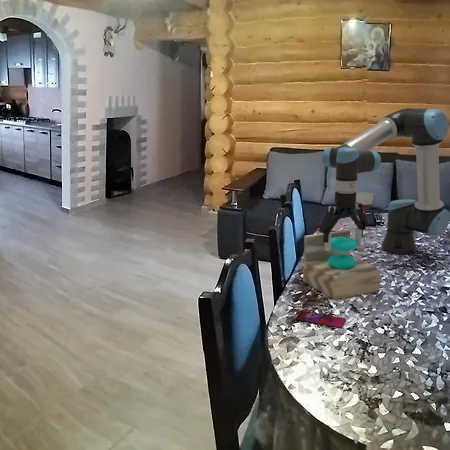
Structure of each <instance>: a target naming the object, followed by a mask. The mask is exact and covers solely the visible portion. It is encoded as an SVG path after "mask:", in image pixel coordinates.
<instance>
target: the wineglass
mask: <svg viewBox="0 0 450 450" xmlns="http://www.w3.org/2000/svg"><path fill="white" fill-rule="evenodd" d="M373 201H374V193H372V192H365V191H364V192H363V191H361V192H360V191H359V192H356V202H358V203H361V204H362V209H363V212H364V213H365V211H367V210H369V209H370V208H371V207H372V204H373ZM356 202H355V203H356ZM365 230H366V229H365ZM365 230H363V233H367V234H369V233H368V230H366V231H365Z"/></svg>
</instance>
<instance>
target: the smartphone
mask: <svg viewBox="0 0 450 450" xmlns="http://www.w3.org/2000/svg"><path fill="white" fill-rule="evenodd" d="M294 320H295V321H296V322H299V321H301V322H300V323H305V322H309V323H308V324H310V323H313V324H312V325H316V324H320V325H319V326H322V325H326V326H325V327H327V326H330V327H329V328H333V327H337V328H336V329H339V328H341V329H343V328H344V326H343V325H345V323H346V322H347V319H346V318H345V317H340V316H337V315H335V316H334V315H330V314H324V313H319V312H315V311H314V312H312V311H308V310H300V311H299V313H298V314H297V316H296V317H295V318H294ZM342 327H343V328H342Z"/></svg>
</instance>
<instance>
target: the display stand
mask: <svg viewBox="0 0 450 450" xmlns="http://www.w3.org/2000/svg"><path fill="white" fill-rule="evenodd" d="M329 234H331V239H332V238H334V237H349V238H351V230H349V229H345V230H340V231H339V230H337V231H331V232H330V233H329ZM303 241H304V244H303V268H302V269H303V270H302V282H304V283H306V284H307V285H309V286H310V285H311V287H313V288H314V289H316V290H317V291H319V292H321V293H322V294H324V295H325V296H327V297H329V298H331V299H332V300H338V299H343V298H349V297H353V296H358V295H364V294H368V293H369V294H370V293H375V292H378V291H380V287H381V275H382V269H380V268H378V266H376V265H371V264H369V263H367V262H364V261H362V260H360V259H358V258H355V257H353V258H354V259H355V261H356V264H355V266H354V267H352V268H348V269H339V268H335V267H332V266H331V265H329V263H328V259H329V257H330V256H332V255H335V254H346V255H350V251H338V250H335V249H333V248H331V252H328V251H326V250H324V247H325V242H324V241H323V233H315V234H310V235H304V240H303Z"/></svg>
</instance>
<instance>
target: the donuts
mask: <svg viewBox="0 0 450 450" xmlns="http://www.w3.org/2000/svg"><path fill="white" fill-rule="evenodd" d="M357 247H358V246H357V242H356V241H355V238H351V237H350V238H349V237H334V238H332V239H331V248H333V249H335V250H338V251H349V252H350V251H353V250H355V249H356V248H357ZM354 258H355V257H354V256H351V255H350V254H349V255H346V254H335V255H332V256H330V257H329V259H328V263H329V265H331V266H332V267H335V268H339V269H348V268H352V267H354V266H355V264H356V261H355V259H354Z"/></svg>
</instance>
